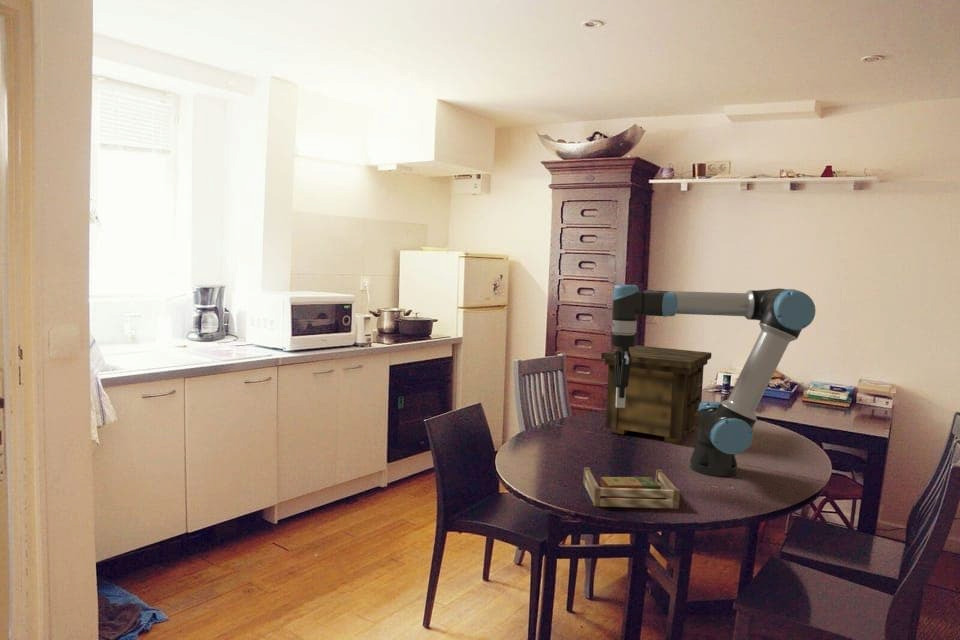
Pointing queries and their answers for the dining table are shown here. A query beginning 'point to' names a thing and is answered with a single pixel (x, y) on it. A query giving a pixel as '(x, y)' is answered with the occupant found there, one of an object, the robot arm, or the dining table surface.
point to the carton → (629, 484)
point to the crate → (657, 392)
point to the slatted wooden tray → (633, 493)
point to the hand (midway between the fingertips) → (620, 407)
